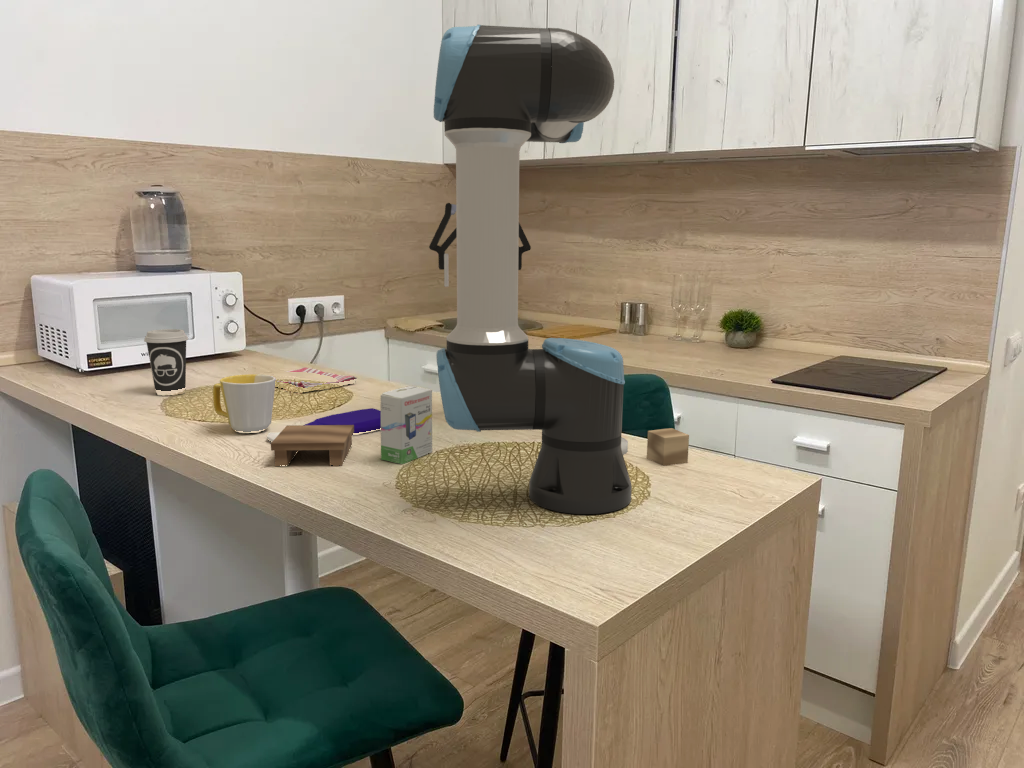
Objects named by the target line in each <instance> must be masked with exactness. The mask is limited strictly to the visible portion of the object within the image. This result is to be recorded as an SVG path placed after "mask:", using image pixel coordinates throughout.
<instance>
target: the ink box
mask: <svg viewBox="0 0 1024 768" xmlns="http://www.w3.org/2000/svg"><path fill="white" fill-rule="evenodd" d="M380 411H381V431H380V460H381V461H388V462H390V463H395V464H401V465H404V464H406V463H409V462H411V460H412V461H413V460H417V459H418V458H419V459H420V458H421V457H423V456H426V455H428V453H429V454H430V453H433V389H430V388H424V387H421V386H419V387H418V386H414V385H409V386H405V387H401V388H395V389H392V390H388V391H384V392H382V393H381V394H380Z"/></svg>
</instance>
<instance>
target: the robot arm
mask: <svg viewBox="0 0 1024 768" xmlns="http://www.w3.org/2000/svg"><path fill="white" fill-rule="evenodd" d="M440 42H441V43H440V47H439V54H438V62H437V68H436V69H437V70H436V77H435V78H436V79H435V88H434V100H433V101H434V102H433V118H434V120H435V121H438V122H439V123H442V122H444V124H443V125H444V136H445V137H446V139H448V140H449V141H450V143H451V144H452V145H453V146H454V148H455V172H456V173H455V177H456V178H455V181H456V182H455V186H456V187H455V189H456V191H455V192H456V193H455V194H456V195H455V197H456V199H455V200H456V204H455V203H454V204H453V203H450V202H447V203H446V204H445V207H444V215H443V216H442V219H441V221H440V223H439V225H438V227H437V229H436V231H435V234H434V236H433V237H432V239H431V241H430V243H429V247H428V248H429V250H430V251H434V252H436V253H437V254H438V268H439V270H442V271H443V274H444V276H443V277H444V278H443V279H444V282H443V285H444V287H445V288H449V286H450V284H449V283H450V282H449V281H450V279H449V278H450V276H449V275H450V272H449V271H450V270H449V268H450V267H449V265H450V264H449V261H450V260H449V253H446V251H447V250H448V248H449V247H450V246H451V245H452V243H453V242H454V241H455V240H456V324H455V327H454V329H452V331H451V332H449V334H447V335H446V338H445V339H446V348H445V347H442V348H440V349H437V351H436V355H435V356H436V366H437V375H438V384H439V391H440V398H441V399H440V400H441V403H442V405H441V406H442V409H443V414H444V419H445V422H446V423H447V425H448V426H449V427H450V428H451V429H454V430H456V431H457V430H458V431H459V430H460V431H464V430H465V431H476V432H478V433H480V432H482V431H515V430H516V431H523V430H524V431H525V430H526V431H527V430H528V431H529V430H530V431H531V430H532V431H533V430H537V431H538V430H540V431H541V447H540V450H539V452H538V455H537V458H536V460H535V464H534V467H533V469H532V473H531V475H530V479H529V484H528V489H529V491H528V496H529V499H530V500H531V502H533V503H534V504H536V505H537V506H539V507H542V508H544V509H547V510H551V511H554V512H559V513H566V514H572V515H573V514H577V515H595V514H596V515H597V514H606V513H612V512H615V511H618V510H621V509H624V508H626V507H627V506H628V505H629V504H630V503H631V501H632V490H633V488H632V481H631V478H630V474H629V471H628V468H627V464H626V460H625V457H624V455H623V454H622V450H621V437H622V434H623V432H622V429H623V404H624V385H625V383H626V381H625V370H624V358H623V355H622V354H621V353H620V351H618V350H617V349H616V348H614V347H612V346H608V345H606V344H605V345H604V344H602V343H596V342H593V341H589V340H581V339H573V338H562V337H557V338H556V337H549V338H545V339H544V340H543V342H542V344H541V348H539V349H538V348H529V336H528V335H527V333H525V331H524V330H522V329H521V327H520V325H519V321H518V320H519V271H521V270H522V267H523V265H522V263H523V262H522V261H523V254H524V253H526V252H528V251H530V250H531V249H532V247H531V245H530V242H529V240H528V238H527V236H526V233H525V232H524V230H523V227H522V225H521V223H520V221H519V220H520V216H519V215H520V150H521V147H523V145H524V144H525V143H526V142H531V143H535V142H536V143H559V144H566V143H577V142H579V141H580V140H581V139H582V137H583V135H582V134H583V133H584V132H583V131H584V123H586V122H589V121H592V120H594V119H595V118H596V117H598V116H599V115H601V114H602V112H604V111H605V109H606V108H607V107H608V105H609V103H610V102H611V99H612V97H613V94H614V90H615V75H614V71H613V67H612V65H611V63H610V61H609V60H608V57H607V56H606V54H605V53H604V52H603V50H601V48H599V47H598V45H597V44H595V43H594V42H592V41H591V40H590V39H588V38H587V37H585V36H583V35H581V34H579V33H577V32H574V31H572V30H568V29H563V28H559V27H557V28H556V27H546V28H545V27H544V28H543V27H523V26H504V25H503V26H502V25H501V26H500V25H486V24H485V25H484V24H483V25H482V24H477V25H473V26H472V25H471V26H470V25H469V26H454V27H451V28H448V29H447V30H446V31H445V32H444V33H443V36H442V38H441V41H440ZM454 215H456V227H455V228H454V229H453V231H452V232H451V233H450V234H449V236H448V237H447V238H446V239H445V240H444V242H443V243H442V244H441V245H438V244H439V243H440V241H441V238H442V236H443V234H444V232H445V229H446V228H447V226H448V223H449V221H450V220H451V217H452V216H454ZM519 240H520V241H519ZM519 242H521V244H522V246H520V245H519Z"/></svg>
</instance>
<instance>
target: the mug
mask: <svg viewBox="0 0 1024 768" xmlns="http://www.w3.org/2000/svg"><path fill="white" fill-rule="evenodd" d="M270 375H271V374H259V373H258V374H255V373H253V374H251V373H250V374H237V375H229V376H226V377H222V378H221V379H220V380H219V383H215V384H214V385H213V388H212V399H213V407H214V411H215V413H216V414H217V415H219V416H222V417H225V418H227V420H228V424H229V427H230V428H231V429H232V430H233V431H234V430H236V431H243V432H251V431H259V430H263V429H266V428H267V429H268V428H269V427H270V425H271V424H272V420H273V419H272V418H273V408H274V399H275V391H276V390H275V389H276V387H275V381H276V378H275V377H273V376H270ZM221 394H222V398H223V402H224V406H225V411H224V410H223V409H222V405H221ZM267 429H266V430H267Z"/></svg>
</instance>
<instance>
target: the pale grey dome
mask: <svg viewBox="0 0 1024 768" xmlns="http://www.w3.org/2000/svg"><path fill="white" fill-rule="evenodd" d="M628 445H629V441H628V439H626V438H624V437H622V436H621V450H622V454H623V456H624V455H625V454H627V453H628V448H629V446H628Z"/></svg>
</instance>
